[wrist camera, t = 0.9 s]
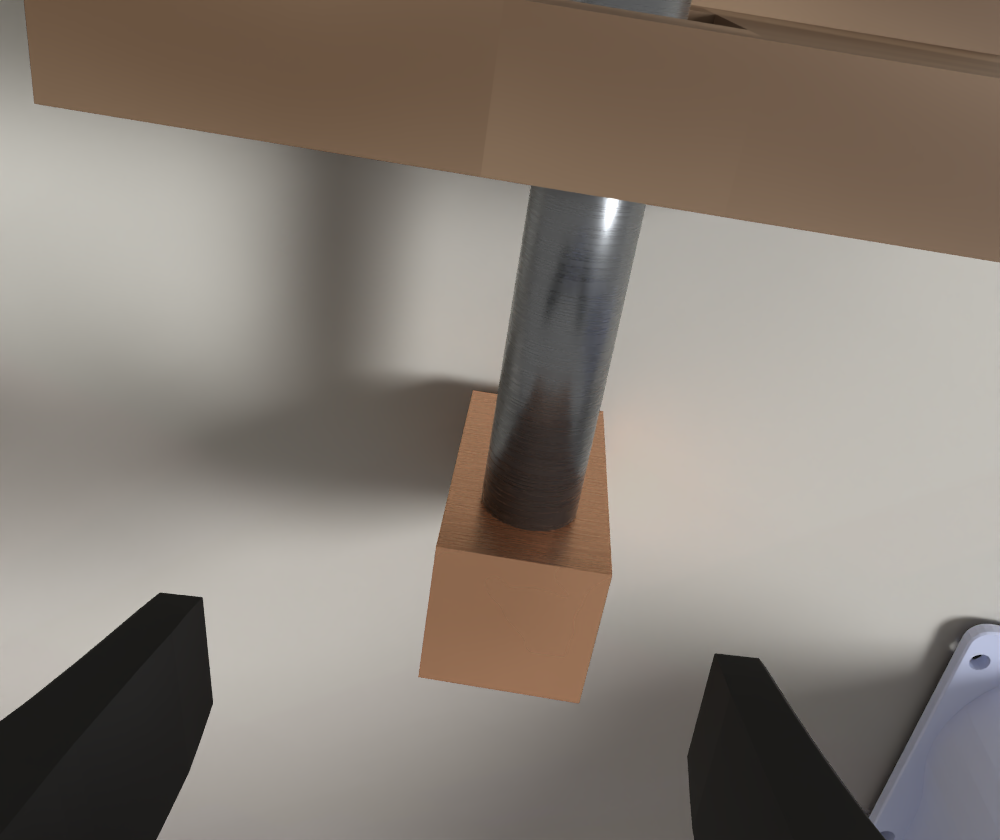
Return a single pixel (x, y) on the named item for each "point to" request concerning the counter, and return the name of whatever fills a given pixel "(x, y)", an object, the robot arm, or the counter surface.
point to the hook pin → (539, 459)
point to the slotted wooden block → (584, 97)
